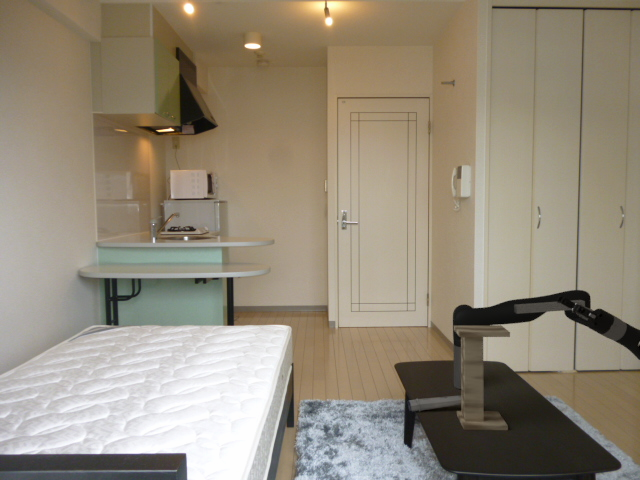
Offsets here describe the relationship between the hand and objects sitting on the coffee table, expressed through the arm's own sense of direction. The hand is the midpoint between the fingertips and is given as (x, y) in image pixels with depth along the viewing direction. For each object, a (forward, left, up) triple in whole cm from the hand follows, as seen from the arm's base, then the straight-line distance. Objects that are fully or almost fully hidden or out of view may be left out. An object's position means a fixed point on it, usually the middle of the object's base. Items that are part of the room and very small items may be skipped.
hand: (560, 299), depth 166 cm
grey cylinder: (-8, -37, -42) cm, 57 cm away
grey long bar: (0, -4, -4) cm, 5 cm away
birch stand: (+2, -26, -41) cm, 49 cm away
